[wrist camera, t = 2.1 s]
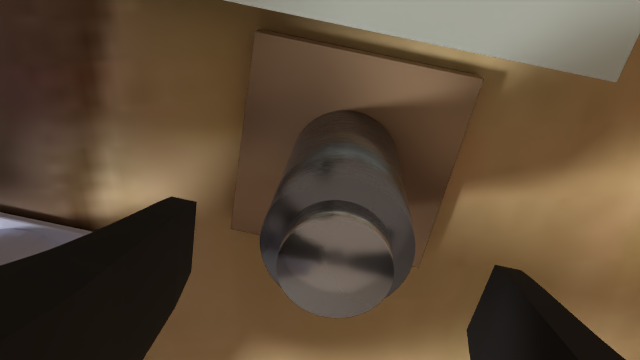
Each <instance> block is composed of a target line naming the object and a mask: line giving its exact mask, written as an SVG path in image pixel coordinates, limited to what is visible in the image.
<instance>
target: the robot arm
mask: <svg viewBox="0 0 640 360" xmlns="http://www.w3.org/2000/svg"><path fill="white" fill-rule="evenodd" d="M196 203H197V202H194V201H190V200H185V199H180V198H175V197H169V198H167V199H164V200H162V201H160V202H157V203H155V204H153V205H151V206H149V207H147V208H145V209H143V210H140V211H138V212H136V213H134V214H132V215H130V216H128V217H125V218H123V219H121V220H119V221H117V222H115V223H112V224H110V225H108V226H106V227H104V228H101V229H99V230H97V231H94V232H92V231H87V230H83V229H78V228H73V227H68V226H63V225H59V224H54V223H49V222H44V221H40V220H35V219H30V218H25V217H20V216H16V215H11V214H6V213H1V212H0V360H143V358H144V357H145V355H146V353H147V352H148V350H149V349H150V347H151V345H152V344H153V342H154V341H155V339H156V337H157V336H158V334H159V333H160V331H161V329H162V328H163V326H164V324H165V323H166V321H167V320H168V318H169V316H170V315H171V313H172V311H173V310H174V308H175V306H176V304H177V302H178V300H179V298H180V295H181V293H182V291H183V289H184V287H185V284H186V282H187V280H188V277H189V275H190V273H191V266H192V253H193V241H194V228H195V216H196ZM467 336H468V345H469V353H470V360H625V359H624V358H623V357H622V356H620V355H619V354H618V353H617V352H616V351H614V350H613V349H612V348H611V347H610V346H608V345H607V344H606V343H605V342H604V341H602V340H601V339H600V338H599V337H598V336H597V335H595V334H594V333H593V332H592V331H591V330H590V329H589V328H587V327H586V326H585V325H584V324H583V323H582V322H581V321H579V320H578V319H577V318H576V317H575V316H574V315H573V314H572V313H570V312H569V311H568V310H567V309H566V308H565V307H564V306H563V305H562V304H560V303H559V302H558V301H557V300H556V299H555V298H554V297H553V296H551V295H550V294H549V293H548V292H547V291H546V290H545V289H543V288H542V287H541V286H540V285H539V284H538V283H536V282H535V281H534V280H533V279H532V278H530V277H529V276H528V275H526V274H525V273H524V272H522V271H521V270H517V269H512V268H507V267H503V266H498V265H495V266H494V269H493V271H492V273H491V275H490V278H489V280H488V282H487V285H486V287H485V289H484V292H483V294H482V296H481V298H480V301H479V303H478V305H477V308H476V310H475V312H474V314H473V317H472V319H471V321H470V324H469V326H468V328H467Z"/></svg>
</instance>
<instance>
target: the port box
mask: <svg viewBox="0 0 640 360" xmlns="http://www.w3.org/2000/svg"><path fill="white" fill-rule="evenodd" d="M224 1H229V2H234V3H239V4H243V5H248V6H253V7H258V8H263V9H267V10H272V11H277V12H282V13H286V14H291V15H296V16H301V17H305V18H310V19H315V20H320V21H325V22H329V23H334V24H339V25H344V26H348V27H353V28H358V29H363V30H368V31H372V32H377V33H382V34H387V35H391V36H396V37H401V38H406V39H410V40H415V41H420V42H425V43H430V44H434V45H439V46H444V47H449V48H453V49H458V50H463V51H468V52H473V53H477V54H482V55H487V56H492V57H496V58H501V59H506V60H511V61H515V62H520V63H525V64H530V65H535V66H539V67H544V68H549V69H554V70H558V71H563V72H568V73H573V74H578V75H582V76H587V77H592V78H597V79H601V80H606V81H611V82H617V80H618V78H619V76H620V74H621V72H622V70H623V68H624V66H625V63H626V61H627V59H628V57H629V55H630V53H631V51H632V49H633V47H634V44H635V42H636V40H637V38H638V36H639V34H640V0H224Z"/></svg>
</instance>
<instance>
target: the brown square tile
mask: <svg viewBox="0 0 640 360" xmlns="http://www.w3.org/2000/svg"><path fill="white" fill-rule="evenodd" d="M483 80H484V79H482V78H481V77H480V76H479V75H476V74H471V73H466V72H462V71H457V70H452V69H447V68H442V67H438V66H433V65H428V64H423V63H419V62H414V61H409V60H404V59H399V58H395V57H390V56H385V55H380V54H376V53H371V52H366V51H361V50H356V49H352V48H347V47H342V46H337V45H333V44H328V43H323V42H318V41H314V40H309V39H304V38H299V37H294V36H290V35H285V34H280V33H275V32H271V31H266V30H261V29H259V30H257V31H255V33H254V41H253V50H252V58H251V66H250V74H249V83H248V91H247V99H246V107H245V116H244V124H243V132H242V140H241V148H240V157H239V165H238V173H237V181H236V190H235V198H234V206H233V214H232V223H231V229H234V230H239V231H244V232H249V233H253V234H258V235H260V234H261V229H262V225H263V222H264V220H265V217H266V215H267V212H268V210H269V207H270V205H271V202H272V200H273V197H274V195H275V192H276V190H277V187H278V185H279V182H280V180H281V177H282V175H283V172H284V170H285V167H286V165H287V162H288V160H289V157H290V155H291V152H292V150H293V147H294V145H295V143H296V140H297V138H298V136H299V134H300V133H301V131H302V130H303V129H304V128H305V127H306V126H307V125H308V124H309V123H310V122H311V121H313V120H314V119H315V118H317V117H319V116H321V115H323V114H326V113H329V112H333V111H339V110H350V111H357V112H360V113H364V114H366V115H369V116H371V117H372V118H374V119H376V120H377V121H378V122H380V123H381V124H382V125H383V126H384V127H385V128H386V129H387V130H388V132H389V133H390V134H391V136H392V138H393V140H394V142H395V145H396V148H397V153H398V158H399V163H400V167H401V172H402V177H403V182H404V187H405V192H406V197H407V202H408V207H409V212H410V216H411V221H412V226H413V231H414V236H415V246H416V248H415V257H414V261H413V265H412V267H416V268H419V265H420V262H421V259H422V256H423V253H424V251H425V248H426V245H427V242H428V239H429V236H430V233H431V230H432V227H433V225H434V222H435V219H436V216H437V213H438V210H439V207H440V204H441V201H442V199H443V196H444V193H445V190H446V187H447V184H448V181H449V178H450V175H451V173H452V170H453V167H454V164H455V161H456V158H457V155H458V152H459V149H460V147H461V144H462V141H463V138H464V135H465V132H466V129H467V126H468V123H469V121H470V118H471V115H472V112H473V109H474V106H475V103H476V100H477V97H478V95H479V92H480V89H481V86H482V83H483Z"/></svg>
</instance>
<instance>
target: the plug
mask: <svg viewBox="0 0 640 360" xmlns="http://www.w3.org/2000/svg"><path fill="white" fill-rule="evenodd" d="M415 248H416V246H415V236H414V231H413V226H412V221H411V216H410V212H409V207H408V202H407V197H406V192H405V187H404V182H403V177H402V172H401V167H400V163H399V158H398V153H397V148H396V145H395V142H394V140H393V138H392V136H391V134H390V133H389V132H388V130H387V129H386V128H385V127H384V126H383V125H382V124H381V123H380V122H378V121H377V120H376V119H374V118H372V117H371V116H369V115H366V114H364V113H360V112H357V111H350V110H339V111H333V112H329V113H326V114H323V115H321V116H319V117H317V118H315V119H314V120H313V121H311V122H310V123H309V124H308V125H307V126H306V127H305V128H304V129H303V130H302V131H301V133H300V134H299V136H298V138H297V140H296V143H295V145H294V147H293V150H292V152H291V155H290V157H289V160H288V162H287V165H286V167H285V170H284V172H283V175H282V177H281V180H280V182H279V185H278V187H277V190H276V192H275V195H274V197H273V200H272V202H271V205H270V207H269V210H268V212H267V215H266V217H265V220H264V222H263V225H262V229H261V234H260V249H261V254H262V258H263V261H264V263H265V266H266V268H267V270H268V272H269V273H270V275H271V276H272V278H273V279H274V280H275V281H276V283H277V284H278V285H279V286H280V287H281V288H282V289H283V291H284V292H285V294H286V295H287V296H288V297H289V298H290V299H291V300H292V301H293V302H294V303H295V304H296V305H298V306H299V307H301V308H302V309H304V310H306V311H308V312H310V313H313V314H315V315H319V316H323V317H329V318H347V317H353V316H357V315H360V314H362V313H365V312H367V311H369V310H371V309H372V308H374V307H375V306H377V305H378V304H379V303H380V302H381V301H382V300H383V299H384V298H386V297H387V296H389V295H390V294H391V293H393V292H394V291H395V290H396V289H397V288H398V287H399V286H400V285H401V284H402V283H403V281H404V280H405V279H406V277H407V275H408V274H409V272H410V269H411V267H412V265H413V261H414V257H415Z"/></svg>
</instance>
